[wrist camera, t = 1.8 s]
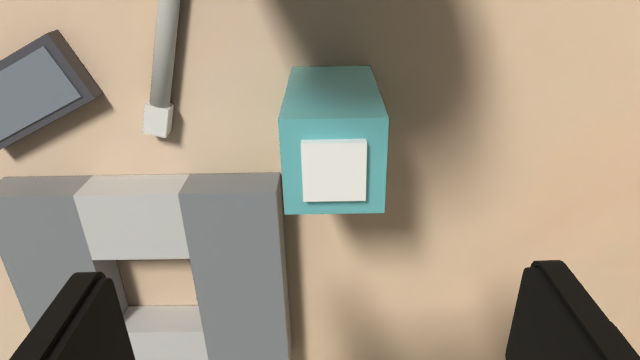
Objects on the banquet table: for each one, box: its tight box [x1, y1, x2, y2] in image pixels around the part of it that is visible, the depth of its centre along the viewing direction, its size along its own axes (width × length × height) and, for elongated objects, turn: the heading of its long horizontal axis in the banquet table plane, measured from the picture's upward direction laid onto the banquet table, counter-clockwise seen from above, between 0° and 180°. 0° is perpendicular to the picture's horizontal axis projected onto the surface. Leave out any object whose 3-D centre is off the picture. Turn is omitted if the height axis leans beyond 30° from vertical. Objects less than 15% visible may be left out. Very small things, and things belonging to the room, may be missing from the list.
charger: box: [278, 65, 389, 214], centre depth 21 cm, size 4×4×8 cm
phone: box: [0, 30, 103, 149], centre depth 24 cm, size 7×4×1 cm, turn 116°
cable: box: [143, 0, 180, 138], centre depth 23 cm, size 11×1×1 cm, turn 166°
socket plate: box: [0, 173, 292, 360], centre depth 29 cm, size 16×14×2 cm
